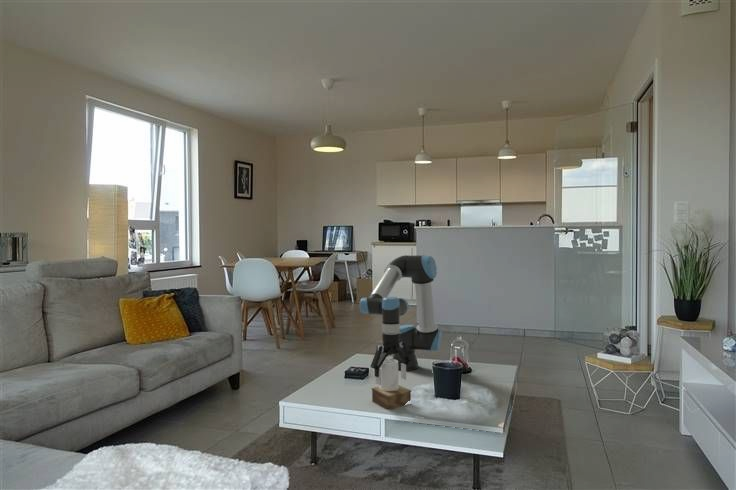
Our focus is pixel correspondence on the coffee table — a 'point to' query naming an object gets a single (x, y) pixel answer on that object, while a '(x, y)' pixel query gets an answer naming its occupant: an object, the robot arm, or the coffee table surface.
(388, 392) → the walnut box
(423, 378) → the coffee table surface
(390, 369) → the mug
